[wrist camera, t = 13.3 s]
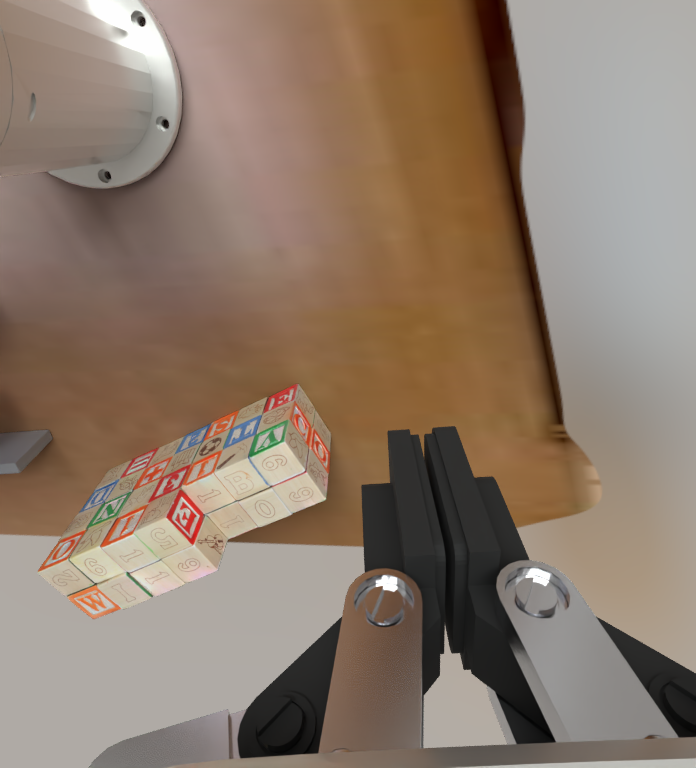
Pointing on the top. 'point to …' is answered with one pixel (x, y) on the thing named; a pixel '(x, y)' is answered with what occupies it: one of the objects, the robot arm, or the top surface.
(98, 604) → the stack of blocks
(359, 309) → the top surface
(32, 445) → the box
